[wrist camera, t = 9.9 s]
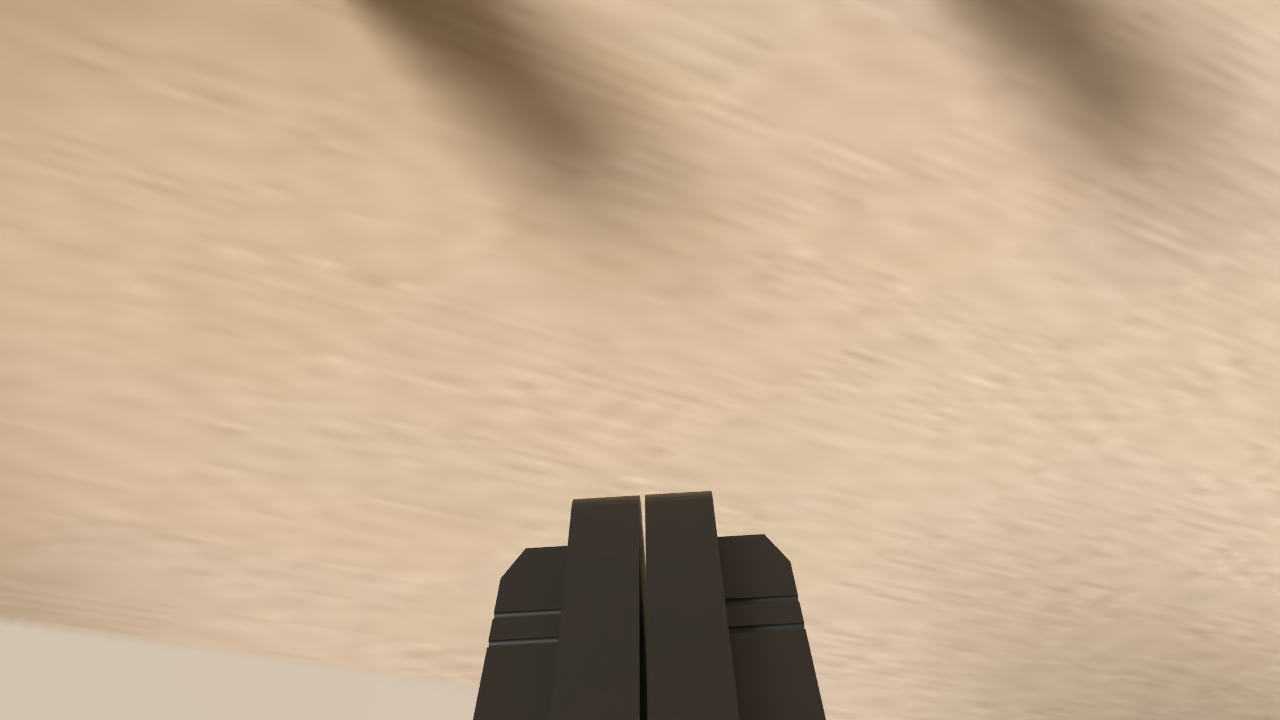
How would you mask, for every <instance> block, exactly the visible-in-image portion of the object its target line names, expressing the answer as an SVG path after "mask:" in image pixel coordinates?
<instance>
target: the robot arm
mask: <svg viewBox="0 0 1280 720" xmlns="http://www.w3.org/2000/svg"><path fill="white" fill-rule="evenodd" d="M645 526H646V563H645V550H644V537H643V524H642V512H641V502H640V496H622V497H605V498H588V499H574V500H573V502H572V509H571V519H570V528H569V538H568V546H558V547H541V548H526V549H525V550H524V551H523V552H522V554H521V555H520V556H519V557H518V558H517V560H516V561H515V562H514V563H513V564H512V566H511V567H510V568H509V569H508V570H507V572H506V573H505V574H504V575H503V576H502V578H501V580H500V585H499V590H498V595H497V600H496V605H495V610H494V619H493V621H492V626H491V631H490V636H489V648H487V651H486V656H485V661H484V667H483V672H482V677H481V682H480V687H479V692H478V697H477V702H476V708H475V713H474V718H473V720H826V718H825V714H824V709H823V705H822V700H821V696H820V692H819V687H818V683H817V678H816V674H815V669H814V665H813V660H812V656H811V652H810V647H809V643H808V638H807V634H806V629H804V620H803V616H802V612H801V607H800V603H799V601H798V594H797V589H796V585H795V580H794V576H793V572H792V567H791V563H790V561H789V560H788V559H787V558H786V557H785V556H784V555H783V553H782V552H781V551H780V550H779V549H778V548H777V547H776V546H775V545H774V544H773V543H772V542H771V541H770V540H769V539H768V538H767V537H766V536H765V535H764V534H760V535H743V536H726V537H717V530H716V522H715V514H714V506H713V498H712V492H711V491H702V492H685V493H668V494H652V495H645Z"/></svg>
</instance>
